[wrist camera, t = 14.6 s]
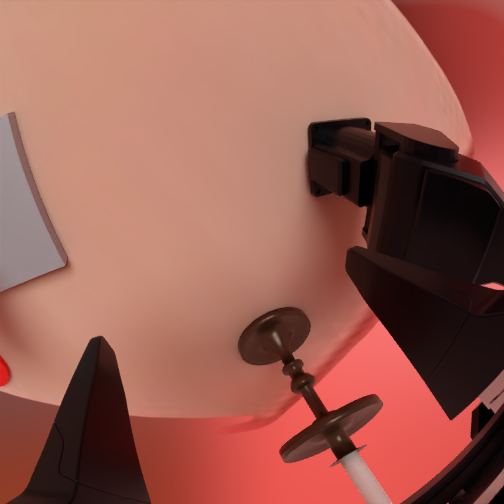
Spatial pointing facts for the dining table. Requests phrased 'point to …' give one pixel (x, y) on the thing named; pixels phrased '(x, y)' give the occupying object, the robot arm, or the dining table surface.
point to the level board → (22, 216)
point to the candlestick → (313, 399)
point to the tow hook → (3, 372)
